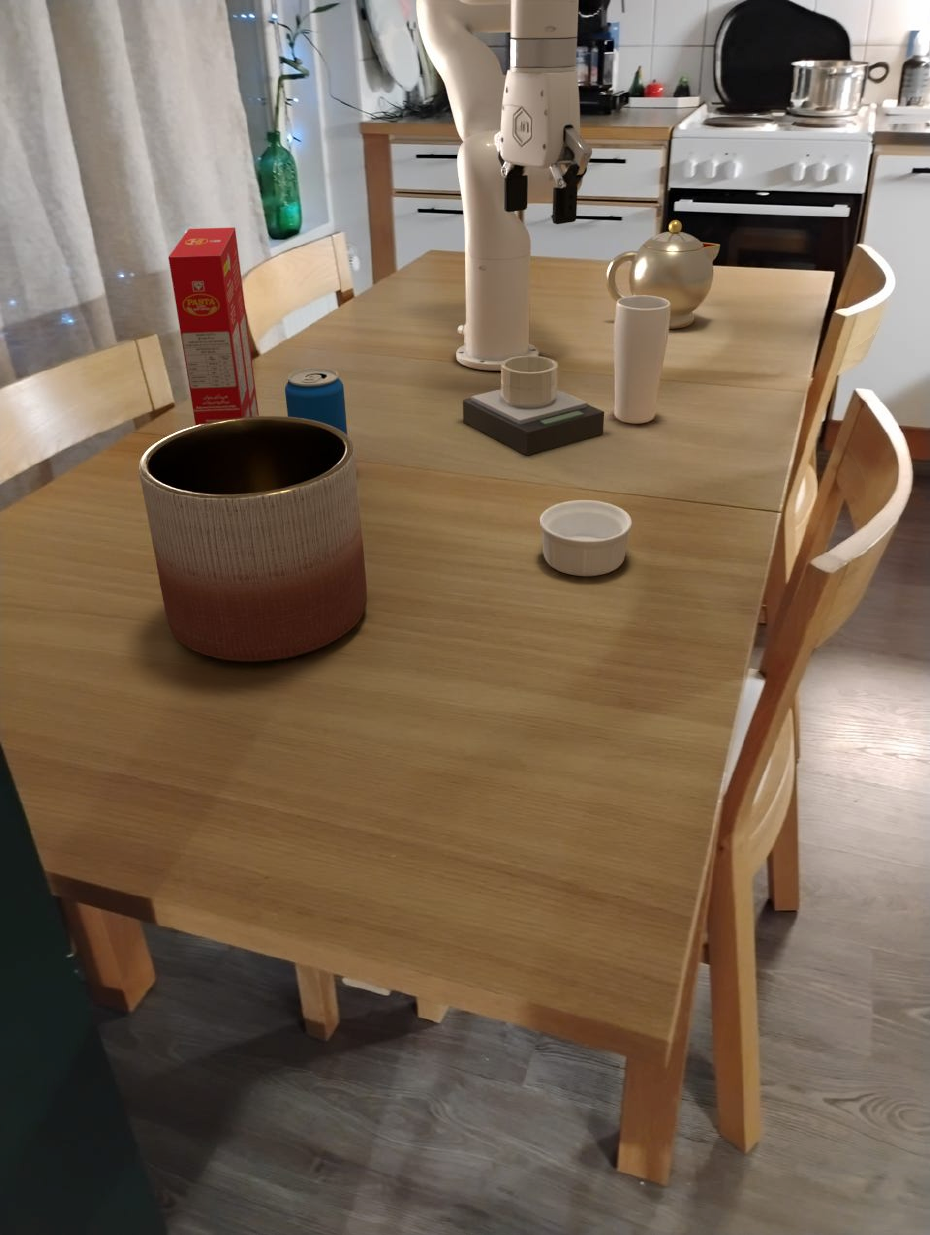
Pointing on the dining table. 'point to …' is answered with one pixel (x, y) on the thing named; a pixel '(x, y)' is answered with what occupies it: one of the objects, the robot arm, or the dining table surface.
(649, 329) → the drinking glass
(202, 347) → the food packaging
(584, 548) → the ramekin
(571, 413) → the scale
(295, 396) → the beverage can
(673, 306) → the teapot
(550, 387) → the bowl
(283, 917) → the dining table surface
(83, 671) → the dining table surface
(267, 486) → the planter
